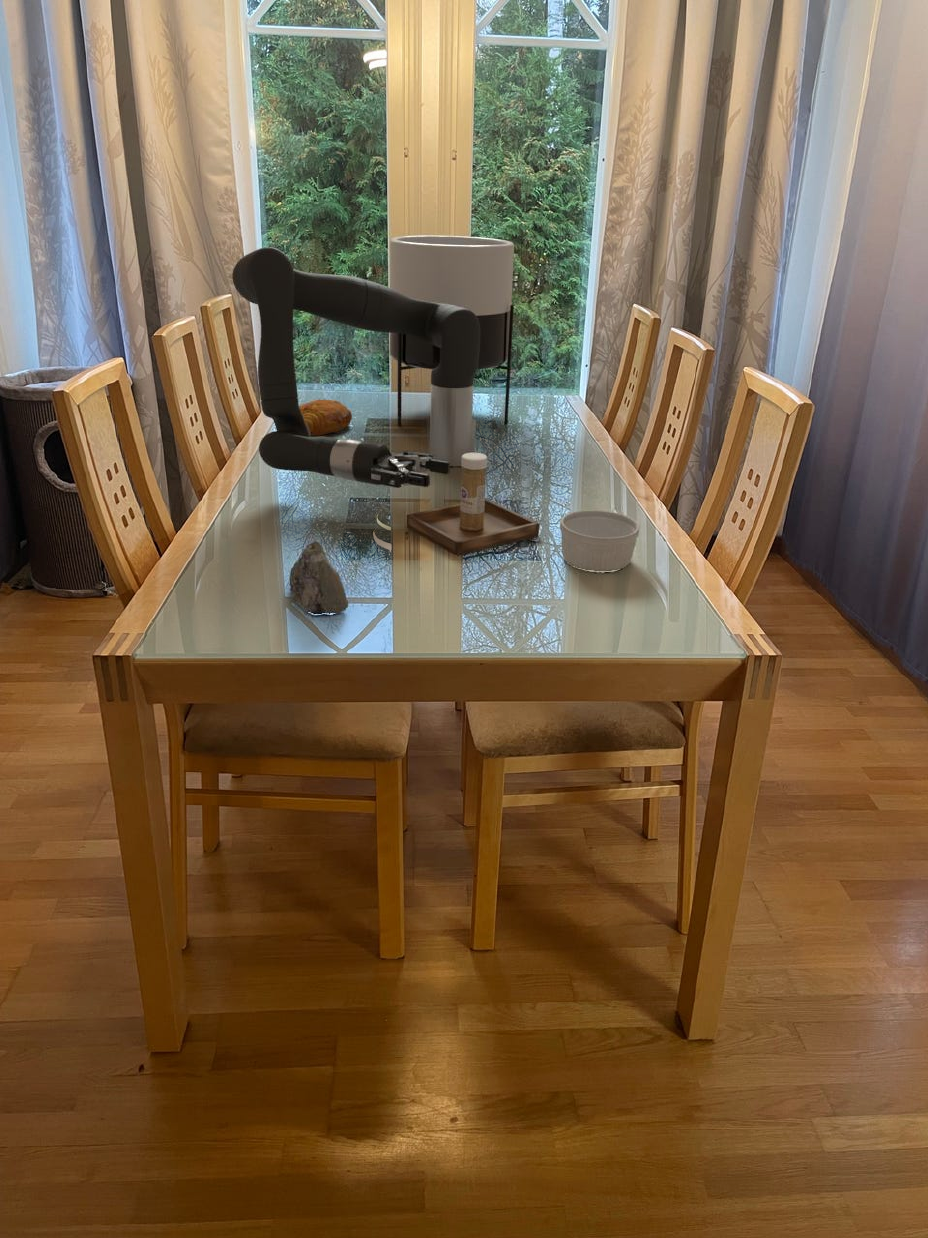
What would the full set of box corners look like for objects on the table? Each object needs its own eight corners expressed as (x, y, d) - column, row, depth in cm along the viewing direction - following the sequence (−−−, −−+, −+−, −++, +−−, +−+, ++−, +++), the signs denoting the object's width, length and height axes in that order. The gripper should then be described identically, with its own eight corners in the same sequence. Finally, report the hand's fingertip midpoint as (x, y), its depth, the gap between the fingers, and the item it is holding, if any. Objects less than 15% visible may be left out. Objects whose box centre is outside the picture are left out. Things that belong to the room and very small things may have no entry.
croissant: (361, 435, 232) (364, 403, 229) (320, 440, 219) (322, 406, 217) (317, 424, 239) (320, 393, 236) (275, 428, 226) (277, 394, 223)
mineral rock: (296, 579, 147) (293, 520, 142) (363, 585, 146) (362, 525, 141) (272, 615, 135) (267, 551, 131) (344, 621, 134) (342, 557, 130)
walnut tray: (484, 510, 178) (485, 498, 177) (538, 536, 167) (539, 523, 166) (406, 527, 169) (406, 514, 168) (457, 556, 157) (458, 542, 156)
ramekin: (615, 583, 149) (620, 543, 146) (543, 564, 155) (546, 525, 152) (646, 558, 160) (651, 520, 156) (577, 541, 166) (581, 504, 163)
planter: (529, 416, 246) (540, 241, 226) (463, 440, 222) (469, 248, 203) (435, 398, 261) (438, 233, 242) (364, 419, 238) (361, 238, 219)
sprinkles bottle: (454, 527, 167) (456, 455, 161) (470, 521, 170) (472, 450, 164) (473, 534, 165) (476, 460, 159) (489, 527, 168) (492, 455, 162)
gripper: (340, 451, 164) (422, 464, 158) (378, 432, 176) (456, 444, 170) (341, 491, 167) (422, 506, 162) (378, 470, 179) (455, 483, 174)
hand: (439, 474), depth 166 cm, fingers open, 8 cm apart
